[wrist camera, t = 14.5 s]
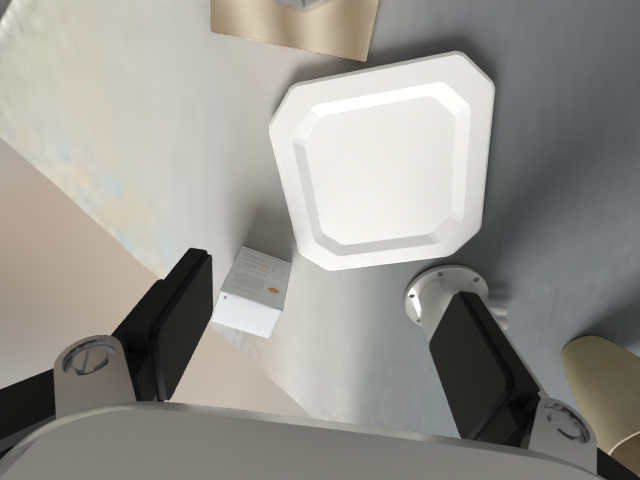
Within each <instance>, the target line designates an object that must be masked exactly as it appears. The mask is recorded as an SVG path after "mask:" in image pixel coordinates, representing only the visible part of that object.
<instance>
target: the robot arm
mask: <svg viewBox="0 0 640 480" xmlns="http://www.w3.org/2000/svg"><path fill="white" fill-rule="evenodd" d="M488 295H489V292H488V287H487V284H486V282H485V281H484V279H483V278H482V276H481V275H480V274H479V273H478V272H476V271H475V270H473V269H471V268H469V267H466V266H462V265H442V266H438V267H434V268H431V269H429V270H427V271H425V272H423V273H422V274H420V275H419V276H417V277H416V278H415V279H414V280H413V281H412V282H411V284H410V285H409V286H408V288H407V290H406V292H405V296H404V305H405V309H406V312H407V314H408V316H409V317H410V318H411V320H412V321H414V322H415V323H416V324H418V325H420V326H422V327H423V330H424V333H425V336H426V339H427V341H428V344H429V349H430V352H431V355H432V358H433V361H434V364H435V367H436V369H437V372H438V375H439V378H440V381H441V384H442V386H443V389H444V392H445V395H446V398H447V401H448V404H449V406H450V409H451V412H452V415H453V418H454V421H455V423H456V426H457V429H458V432H459V434H460V436H461V438H462V439H460V438H452V437H445V436H438V435H431V434H423V433H416V432H409V431H401V430H394V429H386V428H379V427H371V426H364V425H356V424H349V423H341V422H333V421H326V420H318V419H310V418H302V417H295V416H287V415H278V414H270V413H263V412H255V411H247V410H239V409H231V408H222V407H213V406H203V405H195V404H185V403H173V402H164V400H168V401H169V400H170V398H171V397H172V395H173V393H174V391H175V389H176V387H177V385H178V383H179V381H180V379H181V377H182V375H183V373H184V371H185V369H186V367H187V365H188V363H189V361H190V359H191V357H192V355H193V353H194V351H195V349H196V347H197V345H198V343H199V340H200V338H201V336H202V335H203V332H204V330H205V328H206V326H207V324H208V322H209V320H210V318H211V316H212V312H213V281H212V255H209V254H208V253H207V251H206V250H202V249H196V248H189V249H188V251H187V252H186V253H185V254H184V255H183V257H182V258H181V259H180V260H179V262H178V263H177V264H176V265H175V267H174V268H173V269H172V270H171V272H170V273H169V274H168V275H167V277H166V278H165V279H164V280H163V279H160V280H157V281H156V282H155V284H153V286H152V287H151V288H150V290H149V291H148V292H147V293H146V294H145V295H144V296H143V298H142V299H141V300H140V301H139V302H138V304H137V305H136V306H135V307H134V308H133V310H132V311H131V312H130V313H129V314H128V315H127V317H126V318H125V319H124V320H123V321H122V323H121V324H120V325H119V326H118V328H117V329H116V330H115V331H114V332H113V333H112V335H111V336H108V335H95V336H91V337H87V338H84V339H82V340H79V341H77V342H75V343H73V344H72V345H70V346H69V347H67V348H66V349H65V350H64V351H63V352H62V353H61V354H60V355H59V356H58V358H57V359H56V361H55V364H54V368H53V369H51V370H48V371H46V372H43V373H40V374H38V375H36V376H33V377H30V378H28V379H25V380H23V381H20V382H18V383H15V384H13V385H10V386H8V387H5V388H3V389H0V480H640V477H639V476H638V475H636V474H635V473H633V472H632V471H631V470H629V469H628V468H626V467H625V466H624V465H622V464H621V463H619V462H618V461H617V460H615V459H614V458H612V457H611V456H610V455H608V454H607V453H605V452H604V451H603V450H601V449H600V448H598V447H597V440H596V435H595V433H594V431H593V429H592V428H591V426H590V425H589V424H588V422H587V421H586V420H585V419H584V418H583V417H582V416H581V415H580V414H579V413H578V412H577V411H576V410H574V409H573V408H571V407H570V406H569V405H567V404H565V403H563V402H561V401H559V400H556V399H553V398H550V397H549V396H548V394H547V393H546V391H545V390H544V389H543V387H542V386H541V384H540V383H539V381H538V380H537V378H536V377H535V375H534V374H533V372H532V371H531V369H530V368H529V366H528V365H527V363H526V362H525V360H524V359H523V357H522V356H521V354H520V353H519V351H518V350H517V348H516V347H515V345H514V344H513V342H512V341H511V339H510V338H509V336H508V335H507V333H506V332H505V330H507V329H508V327H509V322H508V319H507V318H504V317H498V316H495V315H494V314H493V313H496V314H500V315H507V313H508V308H507V307H506V306H501V305H493V304H492V303H491V301H490V300H489V298H488Z"/></svg>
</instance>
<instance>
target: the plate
mask: <svg viewBox="0 0 640 480" xmlns="http://www.w3.org/2000/svg"><path fill="white" fill-rule="evenodd" d="M494 96H495V86H494V83H493V81H492V80H491V79H490V78H489V77H488V76H487V75H486V74H485V73H484V72H483V71H482V70H481V69H480V68H479V67H478V66H477V65H476V64H475V63H474V62H473V61H472V60H471V59H470V58H469V57H467V56H466V55H465V54H464V53H463V52H459V51H452V52H447V53H442V54H437V55H432V56H427V57H422V58H417V59H412V60H407V61H402V62H397V63H392V64H387V65H382V66H377V67H372V68H367V69H362V70H357V71H352V72H347V73H342V74H337V75H332V76H327V77H322V78H317V79H313V80H308V81H303V82H298V83H295V84H294V85H292V86H291V87H290V88H289V90H288V92H287V93H286V95H285V97H284V99H283V100H282V102H281V104H280V106H279V107H278V109H277V111H276V112H275V114H274V116H273V118H272V119H271V121H270V123H269V134H270V138H271V142H272V146H273V150H274V154H275V158H276V162H277V166H278V170H279V174H280V178H281V182H282V186H283V190H284V194H285V198H286V202H287V206H288V210H289V214H290V218H291V222H292V226H293V230H294V234H295V238H296V242H297V246H298V250H299V252H300V253H301V254H302V255H303V256H305V257H306V258H308V259H310V260H312V261H313V262H315V263H317V264H318V265H320V266H322V267H323V268H325V269H327V270H331V271H333V270H341V269H349V268H357V267H365V266H373V265H381V264H389V263H398V262H406V261H414V260H422V259H430V258H438V257H446V256H449V255H452V254H454V253H455V252H456V251H457V250H458V249H459V248H460V247H461V246H463V245H464V244H465V243H466V242H467V241H468V240H469V239H470V238H471V237H473V236H474V235H475V234H476V233H477V232H478V231H479V229H480V227H481V223H482V213H483V203H484V194H485V184H486V174H487V164H488V154H489V145H490V135H491V125H492V115H493V105H494Z"/></svg>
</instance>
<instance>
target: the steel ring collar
mask: <svg viewBox="0 0 640 480" xmlns="http://www.w3.org/2000/svg"><path fill="white" fill-rule="evenodd" d="M272 1H273V2H274V3H275V4H276V5H277V6H278V7H279V8H283V9H288V10H293V11H298V12H303V13H308V12H311V11H313V10H315V9H317V8H319V7H321V6H323V5H325V4H327V3H329V2H332V1H333V0H272Z"/></svg>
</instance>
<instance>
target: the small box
mask: <svg viewBox="0 0 640 480" xmlns="http://www.w3.org/2000/svg"><path fill="white" fill-rule="evenodd" d="M291 265H292V264H291V263H290V262H287V261H284V260H281V259H279V258H276V257H273V256H270V255H267V254H265V253H262V252H259V251H256V250H253V249H250V248H248V247H245V246H242V247H241V248H240V251H239V253H238V255H237V257H236V259H235V261H234V263H233V265H232V267H231V269H230V271H229V273H228V275H227V277H226V279H225V281H224V283H223V285H222V287H221V289H220V293H219V296H218V299H217V302H216V305H215V309H214V312H213V315H212V318H211V321H212V322H216V323H219V324H222V325H226V326H229V327H232V328H236V329H239V330H242V331H246V332H249V333H252V334H255V335H259V336H262V337H265V338H269V337H270V335H271V333H272V331H273V329H274V327H275V325H276V323H277V321H278V319H279V317H280V315H281V313H282V311H283V307H284V302H285V296H286V291H287V286H288V281H289V275H290V270H291Z"/></svg>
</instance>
